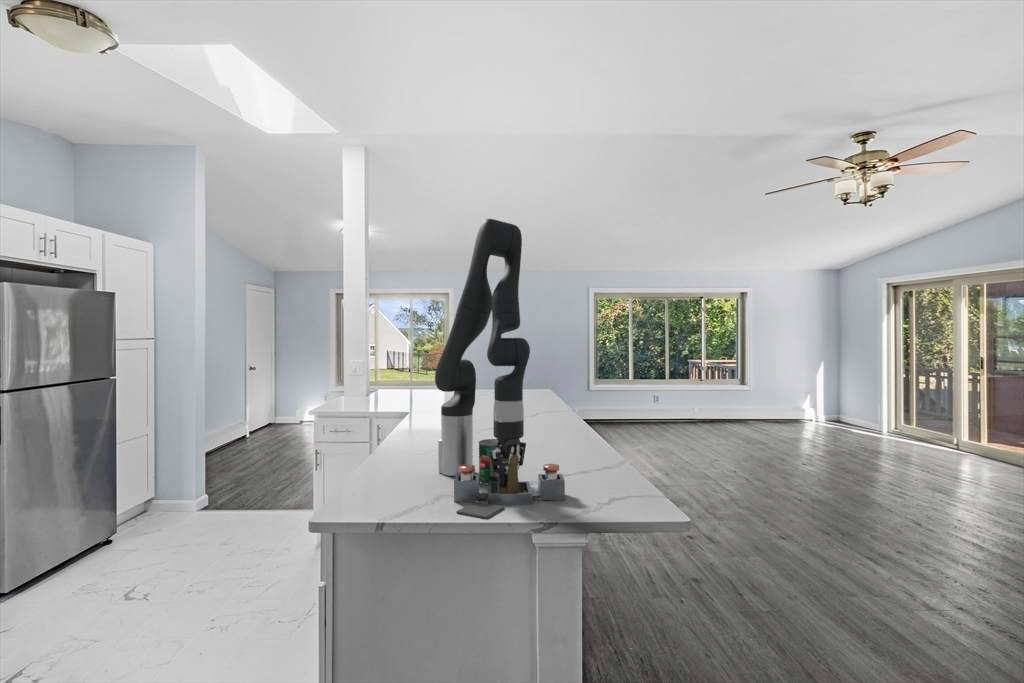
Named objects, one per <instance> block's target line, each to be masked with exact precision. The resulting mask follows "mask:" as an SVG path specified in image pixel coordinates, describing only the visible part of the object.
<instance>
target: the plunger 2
mask: <svg viewBox="0 0 1024 683" xmlns="http://www.w3.org/2000/svg"><path fill="white" fill-rule="evenodd" d="M542 468H543V469H542V470H543V471H544V474H545V480H554V479H557V474H558V472H559V471H560V465H559V464H556V463H545V464H543V465H542Z"/></svg>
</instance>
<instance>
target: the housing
mask: <svg viewBox="0 0 1024 683" xmlns="http://www.w3.org/2000/svg"><path fill="white" fill-rule="evenodd" d="M537 477H538V478H537V479H538V480H537V483H538V485H537V488H538V489H537V492H536V491H532V487H531V483H530V481H518V482H519V489H520V491H526V492H520V493H497V489H498V482H488V485H487V492H480V482H479V474H473V480H461V475H456V476H454V480H453V503H469V501H470V503H473V502H475V501H479V502H480V501H482V500H481V499H488V500H487V504H493V505H532V504H533V500H539V501H540V500H566V495H565V494H566V490H565V489H566V487H565V486H566V484H565V482H566V481H565V478H564V475H563V474H562V473H557V479H554V480H545V473H538V474H537ZM539 498H540V499H539Z"/></svg>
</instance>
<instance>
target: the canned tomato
mask: <svg viewBox="0 0 1024 683" xmlns="http://www.w3.org/2000/svg"><path fill="white" fill-rule="evenodd" d="M497 442H498V439H497V438H489V439H488V438H486V439H482V440H479V441H478V465H479V466H478V472H479V473H478V475H479V483H480V482H481V483H484V484H483V485H485V484H488V482H498V481H499V473H494V471H493V467H492V462H491V457H490V451H491V450H493V451H494V450H495V449H496V448H497ZM497 468H498V465H497ZM481 483H480V484H481Z"/></svg>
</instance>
